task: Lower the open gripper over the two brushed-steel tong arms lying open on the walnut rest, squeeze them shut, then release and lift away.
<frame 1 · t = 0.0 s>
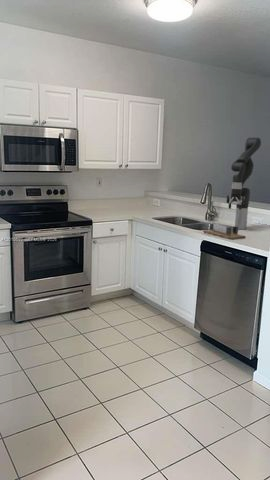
hand: (234, 209, 305), 17 cm above the worktop, tool pointing down, fingers open, 8 cm apart
tong rest: (223, 235, 286), on the worktop
tong arm left: (226, 228, 286), point 5 cm above the worktop, hinge at 6.0°
tong arm right: (221, 228, 284), point 5 cm above the worktop, hinge at -6.0°
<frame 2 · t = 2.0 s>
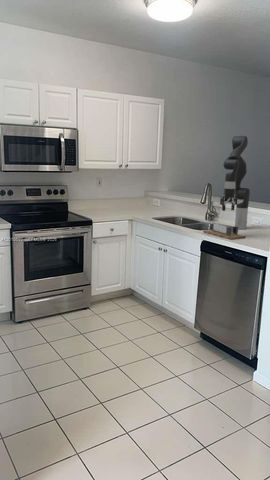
hand: (228, 210, 280), 19 cm above the worktop, tool pointing down, fingers open, 8 cm apart
nothing on the worktop moved.
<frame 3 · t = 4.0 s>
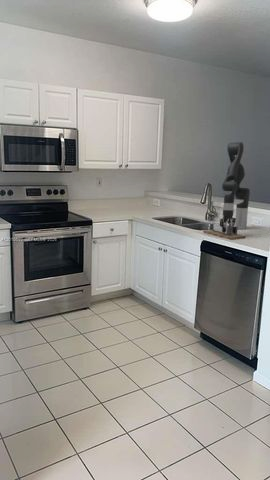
hand: (226, 232, 283), 3 cm above the worktop, tool pointing down, fingers open, 5 cm apart
tong arm left: (226, 228, 286), point 5 cm above the worktop, hinge at 4.2°, touching gripper
tong arm right: (222, 228, 284), point 5 cm above the worktop, hinge at -4.5°, touching gripper
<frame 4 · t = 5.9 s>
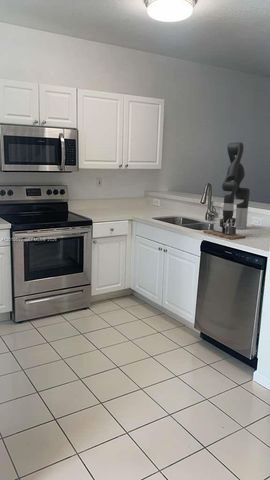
hand: (226, 232, 283), 3 cm above the worktop, tool pointing down, fingers open, 5 cm apart
tong arm left: (225, 228, 286), point 5 cm above the worktop, hinge at -0.4°
tong arm right: (223, 228, 284), point 5 cm above the worktop, hinge at 0.4°
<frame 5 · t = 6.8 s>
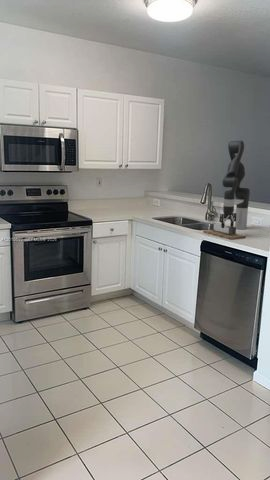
hand: (227, 227, 283), 6 cm above the worktop, tool pointing down, fingers open, 8 cm apart
nothing on the worktop moved.
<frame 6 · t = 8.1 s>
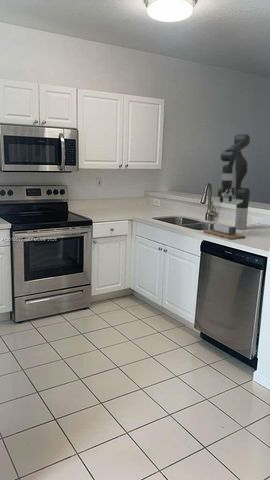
hand: (225, 201, 285), 24 cm above the worktop, tool pointing down, fingers open, 8 cm apart
nothing on the worktop moved.
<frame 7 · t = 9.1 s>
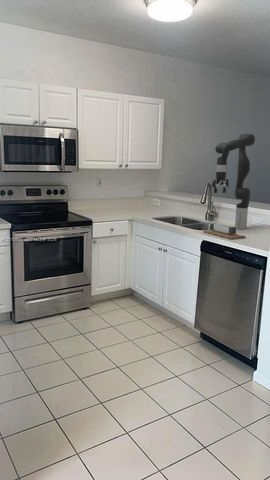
hand: (219, 192, 293), 30 cm above the worktop, tool pointing down, fingers open, 8 cm apart
nothing on the worktop moved.
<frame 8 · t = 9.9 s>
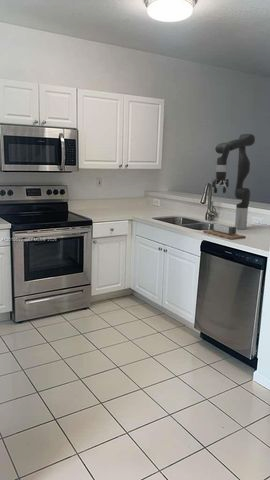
hand: (219, 192, 293), 30 cm above the worktop, tool pointing down, fingers open, 8 cm apart
nothing on the worktop moved.
at the end: tong arm left at +0° (first picture: +6°); tong arm right at +0° (first picture: -6°) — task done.
